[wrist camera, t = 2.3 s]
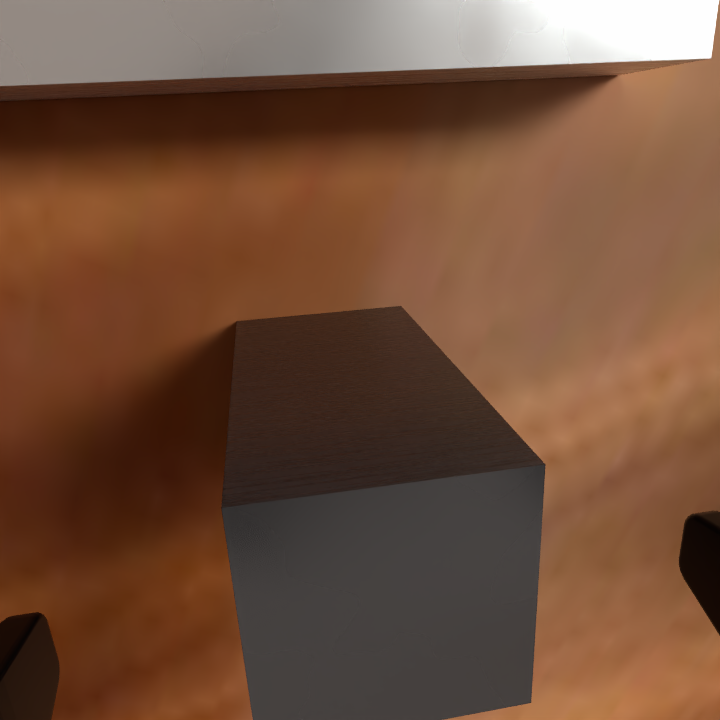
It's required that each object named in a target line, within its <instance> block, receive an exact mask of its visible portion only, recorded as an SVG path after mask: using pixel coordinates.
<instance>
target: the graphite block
mask: <svg viewBox="0 0 720 720" xmlns="http://www.w3.org/2000/svg"><path fill="white" fill-rule="evenodd" d="M544 479H545V464H544V463H543V461H542V460H541V459H540V458H539V457H538V456H537V455H536V454H535V453H534V452H533V450H532V449H531V448H530V447H529V446H528V445H527V444H526V443H525V442H524V441H523V439H522V438H521V437H520V436H519V435H518V434H517V433H516V432H515V431H514V430H513V428H512V427H511V426H510V425H509V424H508V423H507V422H506V421H505V420H504V419H503V417H502V416H501V415H500V414H499V413H498V412H497V411H496V410H495V409H494V408H493V407H492V405H491V404H490V403H489V402H488V401H487V400H486V399H485V398H484V397H483V396H482V394H481V393H480V392H479V391H478V390H477V389H476V388H475V387H474V386H473V385H472V383H471V382H470V381H469V380H468V379H467V378H466V377H465V376H464V375H463V374H462V372H461V371H460V370H459V369H458V368H457V367H456V366H455V365H454V364H453V363H452V361H451V360H450V359H449V358H448V357H447V356H446V355H445V354H444V353H443V352H442V350H441V349H440V348H439V347H438V346H437V345H436V344H435V343H434V342H433V341H432V340H431V338H430V337H429V336H428V335H427V334H426V333H425V332H424V331H423V330H422V329H421V327H420V326H419V325H418V324H417V323H416V322H415V321H414V320H413V319H412V318H411V316H410V315H409V314H408V313H407V312H406V311H405V310H404V309H403V308H402V307H401V306H396V307H386V308H375V309H364V310H354V311H343V312H332V313H321V314H311V315H300V316H289V317H278V318H268V319H257V320H246V321H237V324H236V336H235V348H234V360H233V373H232V385H231V397H230V409H229V422H228V434H227V446H226V458H225V470H224V483H223V495H222V507H221V508H222V515H223V522H224V528H225V535H226V542H227V549H228V555H229V562H230V569H231V575H232V582H233V589H234V596H235V602H236V609H237V616H238V623H239V629H240V636H241V643H242V649H243V656H244V663H245V670H246V676H247V683H248V690H249V696H250V703H251V710H252V717H253V720H443V719H448V718H454V717H459V716H464V715H469V714H475V713H480V712H485V711H491V710H496V709H501V708H506V707H512V706H517V705H522V704H527V703H531V695H532V678H533V662H534V645H535V628H536V612H537V595H538V578H539V562H540V545H541V529H542V512H543V495H544Z"/></svg>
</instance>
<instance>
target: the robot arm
mask: <svg viewBox="0 0 720 720" xmlns="http://www.w3.org/2000/svg"><path fill="white" fill-rule="evenodd" d="M679 567H680V571H681V573H682V576H683V578H684V580H685V581H686V583H687V584H688V586H689V588H690V589H691V591H692V592H693V594H694V595H695V597H696V599H697V600H698V602H699V603H700V605H701V607H702V608H703V610H704V611H705V613H706V614H707V616H708V618H709V619H710V621H711V622H712V624H713V626H714V627H715V629H716V630H717V632H718V633H719V635H720V512H718V511H708V512H702V513H695V514H691V515H690V516H688V517H687V519H686V520H685V523H684V529H683V536H682V542H681V549H680V555H679ZM58 682H59V660H58V657H57V653H56V649H55V646H54V642H53V639H52V635H51V632H50V628H49V625H48V622H47V619H46V617H45V616H44V615H43V614H41V613H39V612H36V613H29V614H23V615H16V616H11V617H8V618H6V619H5V620H3V621H2V622H1V623H0V720H51V718H52V713H53V708H54V703H55V698H56V692H57V687H58Z"/></svg>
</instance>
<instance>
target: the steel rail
mask: <svg viewBox="0 0 720 720" xmlns="http://www.w3.org/2000/svg"><path fill="white" fill-rule="evenodd" d="M718 1H719V0H0V101H16V100H40V99H63V98H87V97H111V96H135V95H158V94H182V93H206V92H229V91H253V90H277V89H300V88H324V87H348V86H371V85H395V84H419V83H443V82H466V81H490V80H514V79H537V78H561V77H585V76H608V75H623V74H628V73H634V72H639V71H645V70H650V69H656V68H661V67H667V66H672V65H677V64H683V63H688V62H694V61H699V60H705V59H710V58H711V55H712V47H713V39H714V32H715V24H716V16H717V9H718Z"/></svg>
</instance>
